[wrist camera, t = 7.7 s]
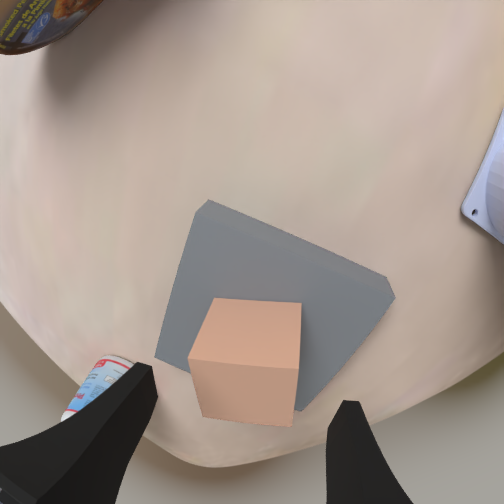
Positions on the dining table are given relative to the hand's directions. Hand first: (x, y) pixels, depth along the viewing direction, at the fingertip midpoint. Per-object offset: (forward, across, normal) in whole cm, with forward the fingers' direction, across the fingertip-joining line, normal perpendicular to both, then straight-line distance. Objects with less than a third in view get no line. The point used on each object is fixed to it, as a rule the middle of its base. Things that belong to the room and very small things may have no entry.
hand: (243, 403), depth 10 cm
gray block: (+10, 0, +3) cm, 11 cm away
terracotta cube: (+7, 0, +3) cm, 8 cm away
